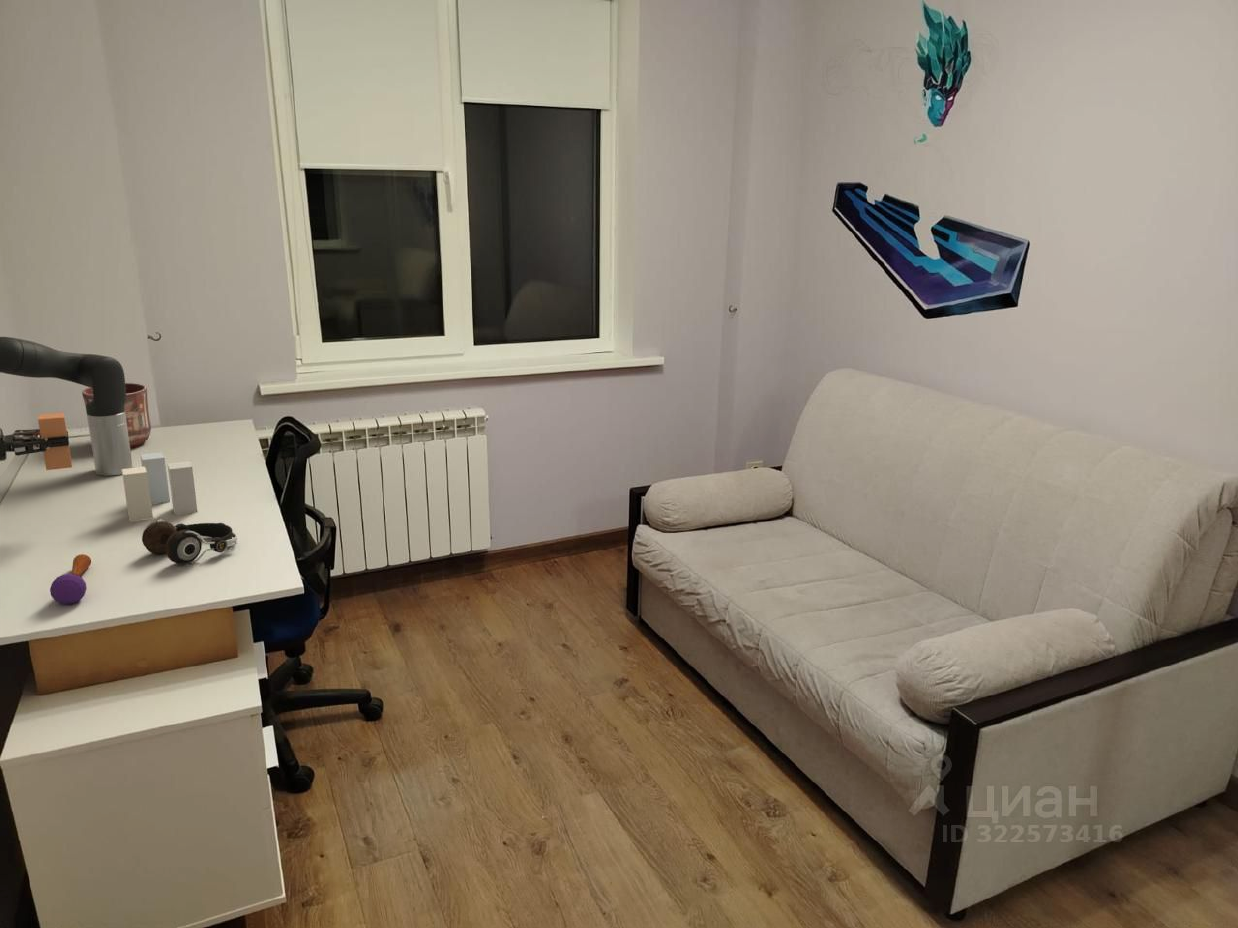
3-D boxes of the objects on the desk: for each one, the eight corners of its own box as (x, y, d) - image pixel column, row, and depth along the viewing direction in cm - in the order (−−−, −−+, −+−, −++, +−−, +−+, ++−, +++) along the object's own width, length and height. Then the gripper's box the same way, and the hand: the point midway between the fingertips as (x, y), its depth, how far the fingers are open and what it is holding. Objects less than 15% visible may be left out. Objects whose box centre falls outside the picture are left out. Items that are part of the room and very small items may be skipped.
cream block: (128, 515, 212) (121, 469, 209) (150, 511, 215) (144, 466, 211) (130, 521, 208) (123, 474, 205) (153, 518, 211) (146, 472, 207)
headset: (132, 518, 189) (215, 506, 206) (131, 552, 190) (214, 537, 207) (177, 536, 180) (260, 522, 197) (176, 571, 182) (259, 554, 199)
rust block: (46, 464, 200) (37, 414, 196) (71, 461, 202) (63, 412, 199) (46, 470, 196) (37, 419, 192) (72, 467, 198) (64, 417, 195)
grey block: (173, 508, 217) (167, 463, 214) (194, 505, 220) (189, 461, 216) (175, 514, 213) (169, 469, 210) (197, 511, 216) (192, 466, 212)
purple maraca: (99, 549, 183) (85, 580, 165) (97, 575, 184) (82, 609, 166) (66, 547, 181) (48, 578, 163) (64, 574, 181) (46, 608, 164)
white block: (146, 498, 224) (140, 454, 220) (167, 495, 226) (162, 452, 223) (148, 504, 220) (142, 460, 216) (170, 501, 222) (164, 457, 219)
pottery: (76, 447, 263) (67, 390, 258) (127, 434, 279) (120, 380, 273) (117, 456, 257) (109, 398, 251) (167, 442, 272) (160, 387, 267)
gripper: (-27, 438, 183) (66, 429, 192) (-24, 422, 194) (65, 414, 203) (-21, 471, 185) (71, 461, 194) (-18, 453, 196) (70, 445, 205)
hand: (67, 437), depth 198 cm, fingers closed on rust block, 5 cm apart
